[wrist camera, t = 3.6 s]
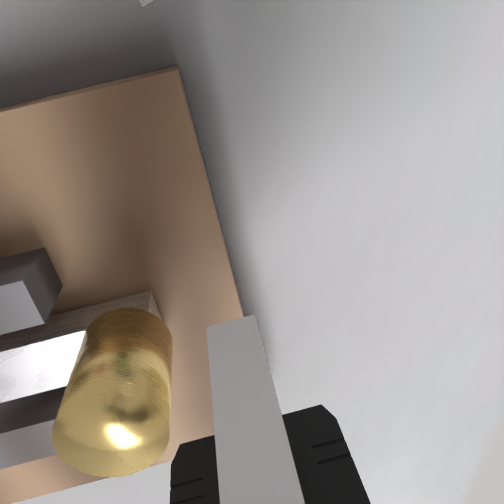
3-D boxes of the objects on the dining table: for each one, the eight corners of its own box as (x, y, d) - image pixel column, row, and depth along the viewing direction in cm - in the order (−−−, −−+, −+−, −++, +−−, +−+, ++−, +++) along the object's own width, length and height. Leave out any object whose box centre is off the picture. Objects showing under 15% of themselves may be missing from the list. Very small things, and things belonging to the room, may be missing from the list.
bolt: (160, 275, 16) (149, 380, 11) (183, 340, 18) (182, 460, 13) (-73, 334, 16) (-191, 468, 11) (-32, 396, 17) (-120, 541, 12)
